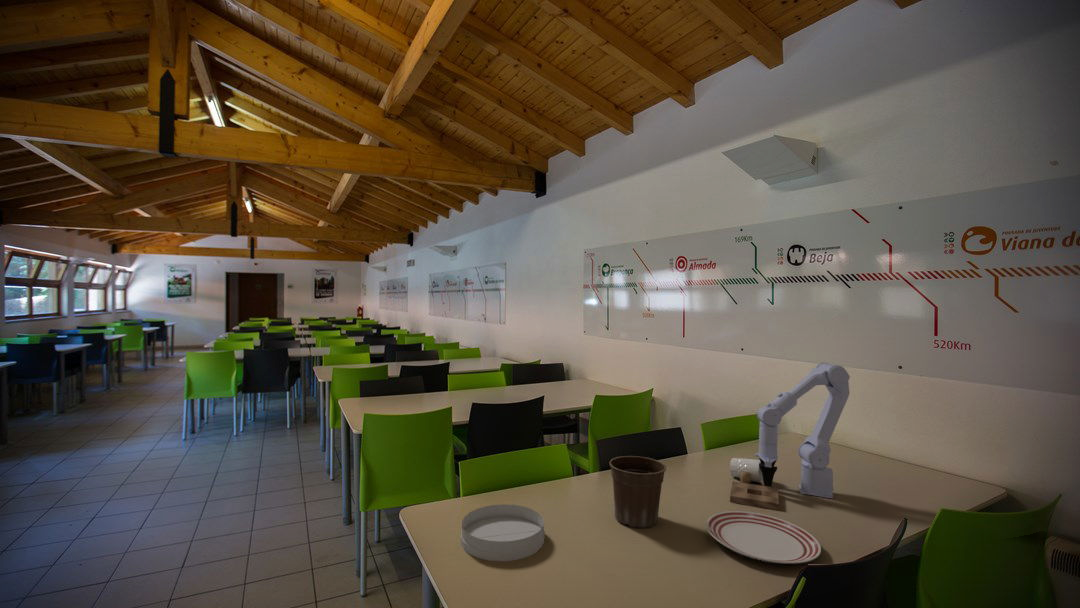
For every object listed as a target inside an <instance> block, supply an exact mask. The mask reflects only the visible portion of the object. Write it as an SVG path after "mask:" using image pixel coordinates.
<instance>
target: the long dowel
mask: <svg viewBox="0 0 1080 608" xmlns="http://www.w3.org/2000/svg"><path fill="white" fill-rule="evenodd" d="M773 482H774V481H773ZM773 482H772V485H771V487H772V488H774V483H773ZM761 486H764V482H763V478H762V483H761ZM765 487H769V486H765Z"/></svg>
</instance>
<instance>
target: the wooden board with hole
mask: <svg viewBox="0 0 1080 608" xmlns="http://www.w3.org/2000/svg"><path fill="white" fill-rule="evenodd" d="M778 490H779V489H778V488H777V487H773V488H772V487H765V486H762V485H758V484H751V483H750V484H746V483H741V481H740V482H738V481H732V483H731V489H730V493H729V502H730V503H735V504H738V505H739V504H741V505H746V506H753V507H757V508H764V509H769V510H775V511H780V502H779V501H780V500H779V491H778Z"/></svg>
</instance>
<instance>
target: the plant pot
mask: <svg viewBox="0 0 1080 608" xmlns="http://www.w3.org/2000/svg"><path fill="white" fill-rule="evenodd" d="M609 466H610V470H611V478H612V484H613V502H614V516H615V520H617V522H619V523H620V524H622V525H625V526H626V525H629V526H630V527H631V528H638V529H639V528H640V529H645V528H646V529H647V528H650V527H653V526H655V525H656V524H657V523H658V518H659V509H660V502H661V501H660V500H661V492H662V484H663V483H664V477H665V472H666V471H667V465H666V464H665V463H663V462H661V461H659V460H657V459H654V458H650V457H645V456H639V455H638V456H637V455H635V456H634V455H626V456H625V455H624V456H616V457H613V458H611V460H610V461H609Z"/></svg>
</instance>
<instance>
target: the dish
mask: <svg viewBox="0 0 1080 608" xmlns="http://www.w3.org/2000/svg"><path fill="white" fill-rule="evenodd" d="M545 535H546V531H545V520H544V518H543V516H542V515H541V514H540V513H539V512H538V511H536V510H534V509H532V508H530V507H526V506H522V505H517V504H505V503H504V504H503V503H502V504H493V505H486V506H482V507H480V508H476V509H474V510H471V511H470V512H469V513H467V514H466V515H465V516H464V517H463V519H462V521H461V531H460V545H461V547H462V549H463V551H465V552H466V553H467V554H469V555H470V556H473V557H475V558H477V559H480V560H485V561H491V562H511V561H516V560H521V559H522V560H523V559H525V558H527V557H531V556H533V555H534V554H536V553H537V552H538V550H539V549H540V548H541V549H542V548H543V546H544V545H543V544H545V540H544V539H545V538H546V536H545ZM542 545H543V546H542ZM541 549H540V550H541ZM540 550H539V551H540Z"/></svg>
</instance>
